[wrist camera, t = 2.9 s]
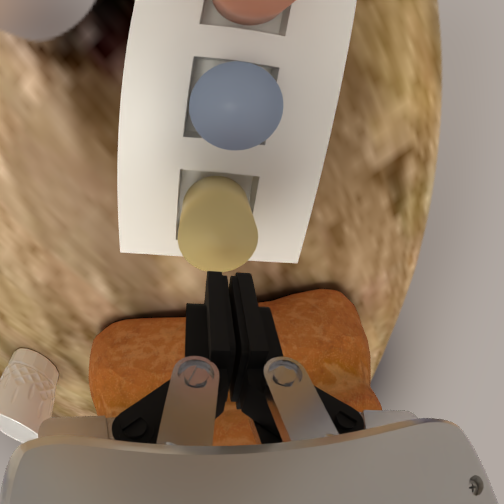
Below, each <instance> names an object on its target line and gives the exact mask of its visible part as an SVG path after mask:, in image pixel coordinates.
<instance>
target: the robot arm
mask: <svg viewBox="0 0 504 504" xmlns="http://www.w3.org/2000/svg"><path fill="white" fill-rule="evenodd" d="M228 392H229V393H230V400H231V402H236V408H237V409H241V411H242V412H243V413H244V414H246V415H247V416H248V417H249V424H250V427H251V430H252V432H253V435H254V438H255V441H256V444H257V445H239V446H212V444H213V434H214V424H215V419H216V418H217V417H218V416H220V415H221V414H222V413H223V412H224V407H225V402H227V398H228ZM0 504H498V502H497V499H496V497H495V494H494V491H493V489H492V486H491V484H490V481H489V479H488V477H487V474H486V472H485V470H484V467H483V465H482V463H481V461H480V459H479V457H478V455H477V453H476V451H475V449H474V448H473V445H472V444H471V442H470V441H469V439H468V437H467V436H466V434H465V433H464V432H463V430H462V429H461V428H460V427H459V426H458V425H456V424H454V423H453V422H449V421H447V420H443V419H434V418H419V419H418V418H417V417H416V416H415V415H414V414H413V413H412V412H409V411H405V410H398V411H397V410H396V411H395V410H363V411H362V412H358V411H357V410H355V409H354V408H353V407H351V406H349V405H347V404H345V403H344V402H342V401H340V400H338V399H336V398H335V397H333V396H331V395H329V394H328V393H326V392H324V391H323V390H321V389H319V388H317V387H316V386H314V385H313V383H312V381H311V379H310V377H309V375H308V373H307V371H306V370H305V368H304V367H303V365H302V364H301V363H299V362H298V361H297V360H294V359H292V358H289V357H284V356H283V352H282V349H281V345H280V342H279V338H278V334H277V331H276V327H275V323H274V320H273V316H272V313H271V309H270V308H269V307H259V306H258V302H257V297H256V293H255V289H254V284H253V280H252V276H251V274H250V273H236V276H231V277H230V284H229V288H228V280H227V276H223V275H222V272H218V271H207V280H206V291H205V303H204V304H189V303H187V305H186V329H185V358H183V359H181V360H179V361H178V362H177V363H176V364H175V366H174V368H173V371H172V375H171V379H170V380H168V381H167V382H165V383H164V384H162V385H161V386H160V387H158V388H157V389H155V390H154V391H152V392H151V393H149V394H148V395H147V396H145V397H144V398H142V399H141V400H139V401H138V402H136V403H135V404H133V405H132V406H130V407H129V408H127V409H126V410H124V411H123V412H121V413H120V414H119V415H118V416H117V417H112V418H106V416H105V415H104V416H84V417H52V418H48V419H46V420H45V421H43V422H42V423H41V425H40V426H39V431H38V438H36V439H33V440H29V441H27V442H25V443H22V444H21V445H20V446H18V447H17V448H16V450H15V451H14V452H13V454H12V456H11V458H10V460H9V462H8V465H7V468H6V471H5V475H4V479H3V483H2V487H1V493H0Z"/></svg>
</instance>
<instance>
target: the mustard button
mask: <svg viewBox="0 0 504 504" xmlns="http://www.w3.org/2000/svg"><path fill="white" fill-rule="evenodd" d="M257 243H258V230H257V226H256V223H255V220H254V217H253V214H252V211H251V208H250V205H249V202H248V199H247V196H246V193H245V191H244V190H243V188H242V187H241V186H240V185H239V184H238V183H237V182H235V181H234V180H232V179H230V178H227V177H223V176H209V177H205V178H202V179H200V180H198V181H197V182H195V183H194V184H193V185H192V186H191V187H190V188H189V189H188V191H187V192H186V194H185V196H184V200H183V205H182V211H181V217H180V223H179V230H178V246H179V249H180V251H181V253H182V255H183V257H184V258H185V259H186V260H187V261H188V262H189V263H190V264H191V265H193V266H194V267H196V268H198V269H200V270H203V271H218V272H227V271H231V270H234V269H236V268H238V267H240V266H241V265H243V264H244V263H246V262H247V261H248V260H249V259H250V257H251V256H252V255H253V253H254V251H255V249H256V247H257Z"/></svg>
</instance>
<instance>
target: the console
mask: <svg viewBox="0 0 504 504" xmlns="http://www.w3.org/2000/svg"><path fill="white" fill-rule="evenodd" d="M356 1H357V0H296V1H295V2H293V3H292V4H291V5H290V6H288V7H287V8H286V9H285V10H283V11H282V12H281V13H280V14H278V15H277V16H276V17H275V18H274V19H272V20H270V21H268V22H266V23H263V24H259V25H241V24H237V23H234V22H231V21H229V20H228V19H226V18H224V17H223V16H222V15H221V14H220V13H219V12H218V11H217V10H216V8H215V6H214V4H213V1H212V0H135V4H134V9H133V14H132V19H131V25H130V31H129V37H128V43H127V49H126V56H125V64H124V72H123V81H122V91H121V102H120V116H119V134H118V221H119V240H120V252H124V253H139V254H154V255H169V256H183V255H182V253H181V251H180V249H179V246H178V230H179V223H180V217H181V211H182V205H183V200H184V196H185V194H186V192H187V191H188V189H189V188H190V187H191V186H192V185H193V184H194V183H195V182H197V181H198V180H200V179H202V178H205V177H209V176H223V177H227V178H230V179H232V180H234V181H235V182H237V183H238V184H239V185H240V186H241V187H242V188H243V190H244V191H245V193H246V196H247V199H248V202H249V205H250V208H251V211H252V214H253V217H254V220H255V223H256V226H257V230H258V243H257V247H256V249H255V251H254V253H253V255H252V256H251V257H250V259H249V260H250V261H267V262H284V263H298V259H299V256H300V252H301V249H302V245H303V241H304V238H305V234H306V230H307V227H308V223H309V219H310V215H311V211H312V208H313V204H314V200H315V196H316V192H317V188H318V184H319V180H320V176H321V172H322V168H323V164H324V160H325V155H326V151H327V147H328V143H329V138H330V134H331V130H332V125H333V121H334V116H335V112H336V107H337V102H338V98H339V93H340V88H341V83H342V78H343V73H344V68H345V63H346V58H347V53H348V48H349V42H350V37H351V31H352V25H353V20H354V14H355V8H356ZM232 61H241V62H248V63H252V64H255V65H257V66H259V67H261V68H263V69H264V70H266V71H267V72H268V73H269V74H270V75H271V76H272V77H273V78H274V79H275V80H276V82H277V84H278V85H279V87H280V90H281V93H282V96H283V114H282V118H281V120H280V123H279V125H278V127H277V128H276V130H275V131H274V132H273V134H272V135H271V136H270V137H269V138H268V139H266V140H265V141H264V142H262V143H261V144H259V145H257V146H255V147H252V148H249V149H245V150H226V149H222V148H218V147H216V146H214V145H212V144H210V143H209V142H207V141H206V140H205V139H203V138H202V137H201V136H200V135H199V133H198V132H197V131H196V129H195V127H194V126H193V124H192V121H191V118H190V113H189V100H190V95H191V93H192V90H193V88H194V86H195V84H196V83H197V81H198V80H199V79H200V77H201V76H202V75H203V74H204V73H206V72H207V71H208V70H210V69H211V68H213V67H215V66H217V65H219V64H222V63H226V62H232Z"/></svg>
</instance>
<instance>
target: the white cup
mask: <svg viewBox="0 0 504 504" xmlns="http://www.w3.org/2000/svg"><path fill="white" fill-rule="evenodd" d="M58 376H59V373H58V371H57V369H56V367H55V366H54V365H53V364H52V363H51V362H50V361H49V360H48V359H47V358H46V357H44V356H43V355H41V354H39V353H38V352H35V351H33V350H30V349H25V348H19V349H17V350H16V351H14V353H13V355H12V357H11V359H10V361H9V363H8V365H7V367H6V368H5V370H4V372H3V374H2V377H1V378H0V431H2V432H3V433H5V434H6V435H8V436H10V437H12V438H13V439H16V440H17V441H20V442H22V443H25V442H27V441H29V440H33V439H36V438H38V431H39V426H40V425H41V423H42V422H43V421H45V420H46V419H48V418H51V417H52V409H53V405H54V398H55V390H56V384H57V380H58Z"/></svg>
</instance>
